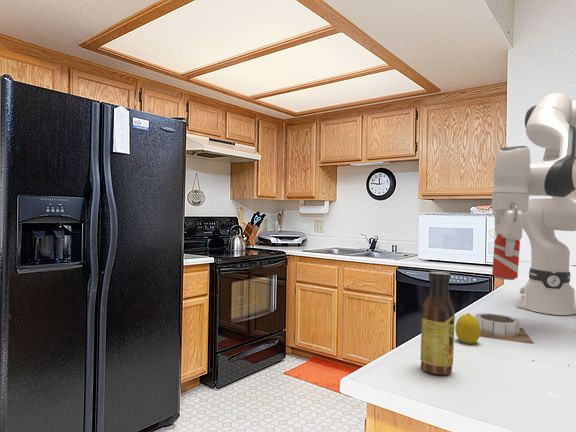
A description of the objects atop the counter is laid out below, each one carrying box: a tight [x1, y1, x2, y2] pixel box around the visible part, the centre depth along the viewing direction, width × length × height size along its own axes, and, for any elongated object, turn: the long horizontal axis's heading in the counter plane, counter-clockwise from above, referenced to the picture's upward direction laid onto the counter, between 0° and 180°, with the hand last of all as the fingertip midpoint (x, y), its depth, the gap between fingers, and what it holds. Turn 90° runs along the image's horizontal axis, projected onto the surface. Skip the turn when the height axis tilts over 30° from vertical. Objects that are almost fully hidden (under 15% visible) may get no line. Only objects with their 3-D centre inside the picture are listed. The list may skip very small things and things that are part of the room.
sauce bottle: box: [420, 271, 456, 376], centre depth 83 cm, size 7×6×20 cm
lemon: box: [454, 312, 481, 345], centre depth 99 cm, size 6×6×8 cm
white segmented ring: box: [474, 312, 521, 337], centre depth 109 cm, size 10×10×4 cm
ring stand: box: [479, 327, 535, 345], centre depth 109 cm, size 15×15×1 cm
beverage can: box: [491, 234, 521, 281], centre depth 111 cm, size 6×6×12 cm
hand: (506, 255), depth 111 cm, fingers closed on beverage can, 6 cm apart
